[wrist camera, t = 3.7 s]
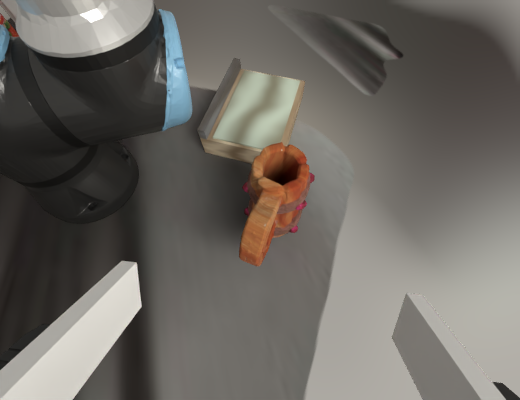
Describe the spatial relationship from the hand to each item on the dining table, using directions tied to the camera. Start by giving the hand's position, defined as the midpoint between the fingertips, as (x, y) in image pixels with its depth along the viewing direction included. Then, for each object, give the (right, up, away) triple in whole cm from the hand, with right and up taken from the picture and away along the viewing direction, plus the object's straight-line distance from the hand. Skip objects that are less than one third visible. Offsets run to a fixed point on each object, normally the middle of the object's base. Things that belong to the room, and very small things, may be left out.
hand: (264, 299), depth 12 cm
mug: (+1, 0, +26) cm, 26 cm away
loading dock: (-1, +20, +35) cm, 40 cm away
